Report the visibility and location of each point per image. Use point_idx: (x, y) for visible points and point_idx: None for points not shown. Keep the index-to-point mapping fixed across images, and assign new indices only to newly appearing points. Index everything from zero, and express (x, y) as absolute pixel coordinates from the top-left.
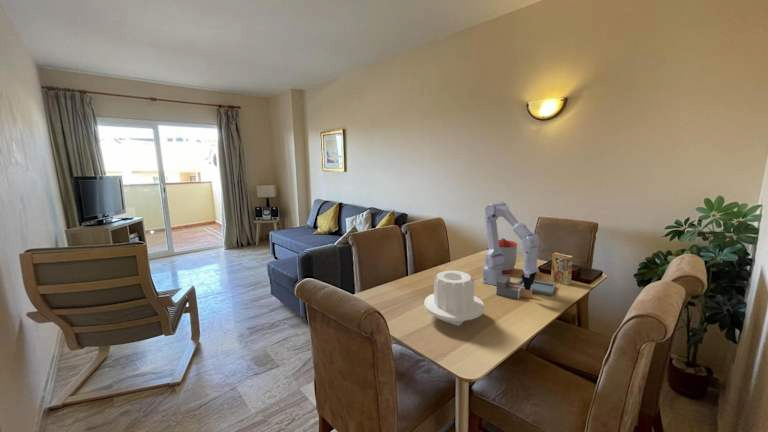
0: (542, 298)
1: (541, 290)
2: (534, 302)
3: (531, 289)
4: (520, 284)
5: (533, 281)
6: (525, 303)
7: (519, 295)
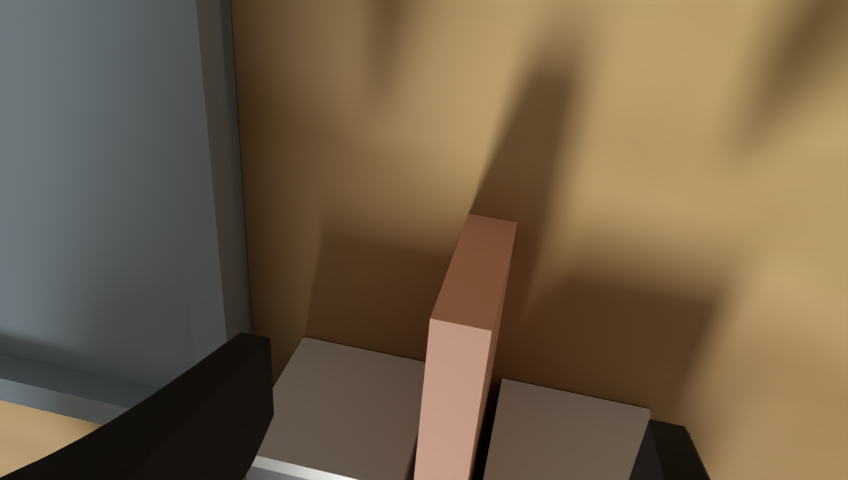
0: (438, 19)
1: (85, 48)
2: (715, 174)
3: (477, 336)
4: (274, 477)
5: (225, 386)
6: (812, 324)
7: (591, 432)
